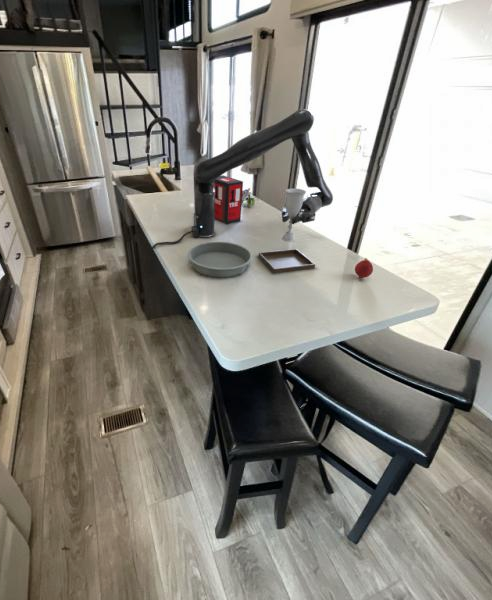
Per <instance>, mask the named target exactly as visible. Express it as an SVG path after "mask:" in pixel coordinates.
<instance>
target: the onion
mask: <svg viewBox="0 0 492 600" xmlns="http://www.w3.org/2000/svg"><path fill="white" fill-rule="evenodd" d="M354 271H355V275H357V277H358V278H359V279H361V280H362V279H366V278H368V277H370V276H371V275H372V274H373V272H374V266H373V264H372V263H371V261H370V260H369V259H368V258H367V257H365V258H364V259H363V260H360V261H359V262H357V264H356V265H355V267H354Z"/></svg>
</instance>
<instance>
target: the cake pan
mask: <svg viewBox="0 0 492 600" xmlns="http://www.w3.org/2000/svg"><path fill="white" fill-rule="evenodd" d="M187 256H188V257H187V258H188V260H189V261H190V262H191V264H192V267H193V269H194V270H195V271H197V272H198V273H200V274H202V275H205V276H208V277H213V278H214V277H215V278H228V277H234V276H237V275H240V274H241V273H243V272H245V271H246V269H247V267H248V264H250V262H251V261H252V259H253V254H252V252H251V251H250V250H249V249H248V248H247V247H245V246H243V245H241V244H238V243H234V242H229V241H228V242H227V241H208V242H203V243H200V244H199V243H198V244H197V245H195V246H193V247H191V248H190V250H189V251H188V253H187Z"/></svg>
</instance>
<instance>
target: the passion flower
mask: <svg viewBox="0 0 492 600" xmlns="http://www.w3.org/2000/svg"><path fill="white" fill-rule="evenodd" d="M251 195H252V191H251V187H248V188H247V189H243V190H242V204H243V203H244V202H246V203H247V208H249V209H250V208H251V207H254V205H255V203H256V201H259V196H256V197H255V196H254V197H251ZM255 198H256V200H255Z"/></svg>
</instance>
